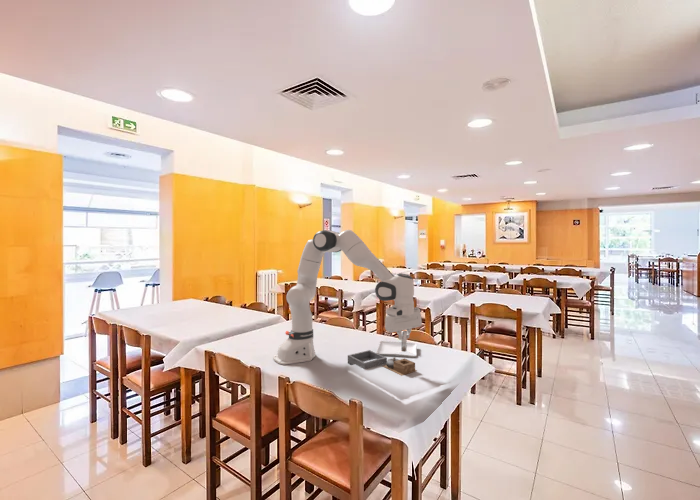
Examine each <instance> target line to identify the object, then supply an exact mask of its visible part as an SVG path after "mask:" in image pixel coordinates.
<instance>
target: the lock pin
mask: <svg viewBox="0 0 700 500" xmlns="http://www.w3.org/2000/svg"><path fill="white" fill-rule="evenodd" d="M401 334H402V336H404V337H403V339H402V340H400V342H401V351H403V353H405V352H407V343H408V340H407V339H408V338H407V330H402V333H401Z"/></svg>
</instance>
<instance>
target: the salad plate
mask: <svg viewBox="0 0 700 500" xmlns="http://www.w3.org/2000/svg"><path fill="white" fill-rule="evenodd" d="M417 347H418V344H417V343H416V342H407V351H406V353H410V354H413V355H409V354H400V353H402V352H403V351H401V341H391V340H390V341H388V340H381V341H379V344H378V347H377V349H376V351H375V353H377V354H380V355H382V356H384V357H388V356H389V357H390V356H391V357H402V358H403V357H404V358H417V356H418V355H417ZM403 353H404V352H403Z"/></svg>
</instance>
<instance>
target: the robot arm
mask: <svg viewBox="0 0 700 500" xmlns="http://www.w3.org/2000/svg"><path fill="white" fill-rule="evenodd" d="M341 251H342V252H343V253H344V255H345V257H347V259H348V260H349V261H350V262H351V263H352V264H353V265H355V266H357V267H359V268H365V269H368V270H369V271H371V272H372V273H374V274H375V275H376V277H377V278H378V279H379V280H380V281H379V282H378V283H377V284H376V285H375V289H374V293H375V295H376V297H377V298H378V299H379V300H380V301H383V302H387V301H394V304H393V305H391V306H390V307H389V308H387V309H386V310H385V313H386V316H385V319H384V321H385V322H384V328H385V331H386V332H388V333H396V334H397V336H398V340H400V341H401V340H402V339H403V337H404V336H402V334H401V333H402V331H407V339H409V338H410V334H411V333H412V329H415V328H420V327H421V326H422V324H423V322H422V320H423V319H422V314H421V309H420V307H417V306H415V302H414V295H415V288H414V287H415V286H414V285H415V284H414V279H413V277H412V276H411V275H409V274H405V273H397V274H395V275H394V274H393V273H392V272H391V271H390V270H389V268H387V267H386V265H384V264H383V262H381V260H380V259H379V258H378V257H377V256H376V255H375V254H374V253H373V252H372V250H370V249H369V247H368V246H367V244H366V243H365V242H364V241H363V239H362V238H360V236H358V235H357V234H356V233H355V231H353V230H351V229H345V230H343V231H342V232H336V231H333V230H319V231H317V232H315V234H314V235H313V238H312V239H308V240H307V241H306V244H305V245H304V248H303V250H302V253H301V255H300V260H299V264H298V267H297V281H296V282H297V283H296V284H295V285H293V286H292V287H290V288H289V290H288V291H287V292H286V293H287V294H286V297H285V299H286V302H287V304H288V306H289V310H290V314H291V315H290V316H291V330H290V331H289V330H286V331H285V333H284V334H285V335H286V336H288V338H287V339H285V341H283V342H282V343H281V344H280V345H279V347H278V349H277V354H274V355H273V357H272V359H273V361H274V362H275V363H277V364H279V365H285V366H286V365H290V364H292V365H293V364H298V363H304V362H310V361H312V360H314V358H315V357H316V355H317V354H316V351H315V346H314V329H313V313H312V312H311V311H312V310H311V306H310V302H311V301H313V299H314V298H315V296H316V293H317V290H316V289H317V284H318V283H317V282H318V275H319V272H320V268H321V264H322V260H323V257H324V255H325V254H326V253H339V252H341Z"/></svg>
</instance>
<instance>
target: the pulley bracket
mask: <svg viewBox="0 0 700 500" xmlns="http://www.w3.org/2000/svg"><path fill="white" fill-rule="evenodd" d="M381 367H382V368H385V369H387V370H388V371H391V372H393V373H395V374H397V375H399V376H401V377H402V376H407V375H408V374H412V373H415V372H418V369H416V362H414V361H412V360H409V359H407V358H401V359H398V358H396V356H392V358H387V362H386V363H385V364H383V365H381Z"/></svg>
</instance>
